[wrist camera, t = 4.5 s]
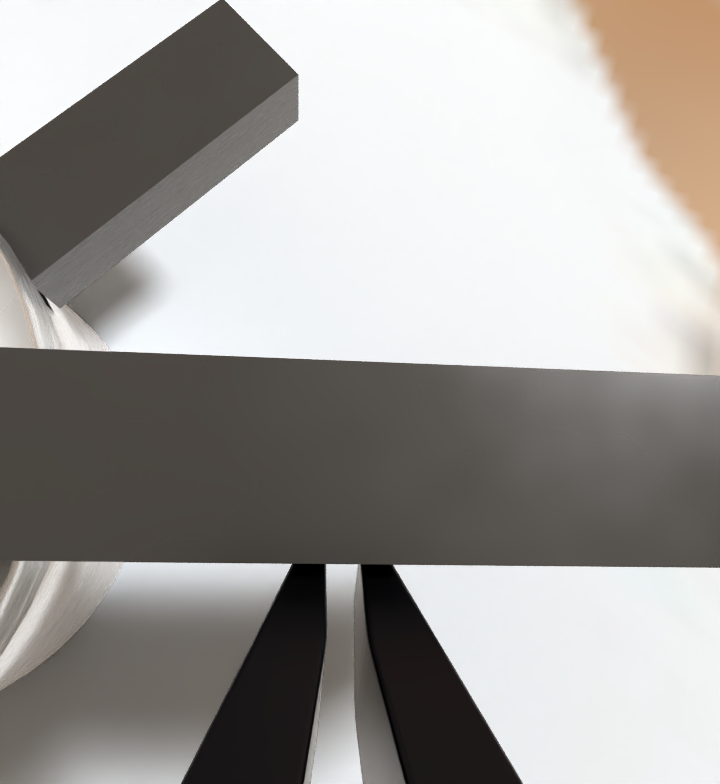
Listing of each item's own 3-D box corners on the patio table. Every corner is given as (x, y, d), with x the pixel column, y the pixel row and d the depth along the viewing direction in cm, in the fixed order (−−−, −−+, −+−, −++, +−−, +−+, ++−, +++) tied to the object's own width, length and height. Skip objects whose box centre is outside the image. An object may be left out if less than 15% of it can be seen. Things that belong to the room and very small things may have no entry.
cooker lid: (-999, 932, 8) (-1788, 1191, 5) (-683, 68, 11) (-1089, -114, 8) (782, 865, 11) (984, 1014, 8) (716, 169, 13) (847, 62, 10)
